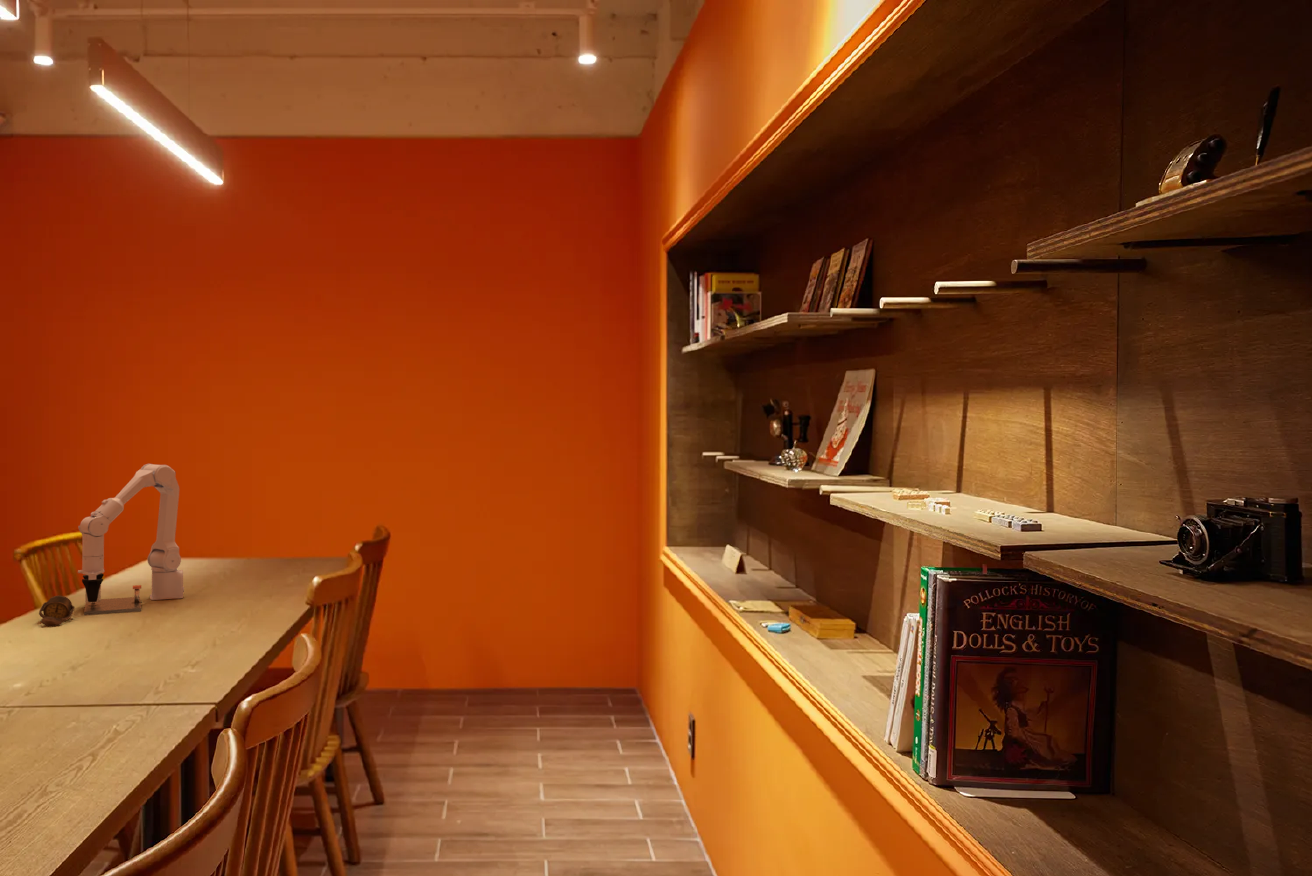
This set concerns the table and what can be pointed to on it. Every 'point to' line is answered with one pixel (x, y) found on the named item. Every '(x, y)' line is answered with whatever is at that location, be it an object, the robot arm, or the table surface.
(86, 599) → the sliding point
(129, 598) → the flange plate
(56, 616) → the dark brown rounded piece
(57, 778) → the table surface
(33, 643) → the table surface
